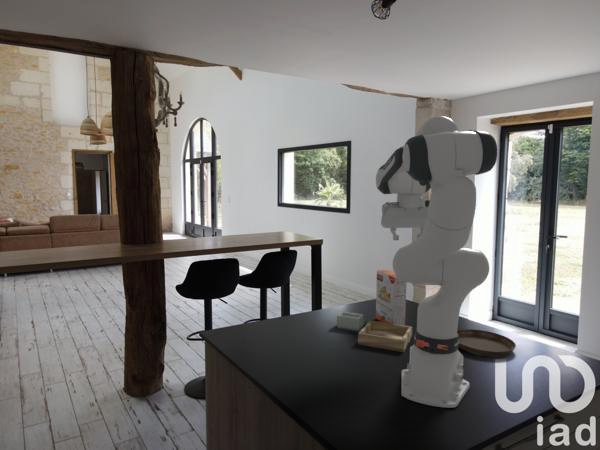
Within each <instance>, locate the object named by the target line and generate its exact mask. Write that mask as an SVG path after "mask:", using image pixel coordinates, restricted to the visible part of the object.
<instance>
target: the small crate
mask: <svg viewBox="0 0 600 450" xmlns="http://www.w3.org/2000/svg"><path fill="white" fill-rule="evenodd" d="M336 328H337V329H342V330H348V331H354V332H360V331H361V330H362V329H363V328H364V314H363V313H355V312H348V311H341V312H339V313H338V314H337V315H336Z"/></svg>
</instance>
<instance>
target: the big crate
mask: <svg viewBox="0 0 600 450" xmlns="http://www.w3.org/2000/svg"><path fill="white" fill-rule="evenodd" d="M412 337H413V326H410V325H405V326H404V325H398V324H391V323H384V322H381V321H378V320H377V321H376V320H369V321H368V322H367V323H366V324H365V326H363V328H362V329H361V330H360V331H358V334H357V345H361V346H364V347H365V346H366V347H372V348H375V349H376V348H377V349H383V350H388V351H395V352H400V353H405V352H406V351H405V350H406V349H407V347H408V345H409V344H410V341H411V340H412ZM408 343H409V344H408Z"/></svg>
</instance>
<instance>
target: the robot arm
mask: <svg viewBox="0 0 600 450" xmlns="http://www.w3.org/2000/svg"><path fill="white" fill-rule="evenodd" d="M497 160H498V143H497V141H496V139H495V137H494V136H493V135H492V134H491V133H489V132H487V131H482V130H476V129H475V130H472V129H469V130H468V131H467V130H465V131H464V130H460V131H459V128H458V126H457V124H456V122H455V121H454V120H453V119H452V118H449V117H447V116H443V115H436V116H435V115H434V116H432V117H431V118H429V119H427V120H426V121H425V122H424V123H423V124H422V125H421V126H420V128H419V129H418V131H417V133H416V134H415V135H414V136H412V137H410V138H408V139H407V141H406V142H405V144H404V145H403V146H400V147H399V148H397V149H395V150H394V152H393V153H391V155H390V156H389V158H388V159H387V160H386V162H385V163H384V164H382V165H381V166H380V167H379V168H378V170H377V171H376V172H377V173H376V175H375V185H376V188H377V190H378V191H379V192H380V193H381V194H383V195H392V194H396V201H392V202H390V201H387V202H385V203H384V204H382V205H381V206H382V207H381V213H382V214H381V219H380V225H381V226H382V228H384V229H390V233H391V234H392V240H393V241H399V240H400V239H399V238H400V235H397V229H402V228H403V229H405V228H406V229H411V228H412V229H413V228H415V229H417V228H419V230H420V232H419V234H417V235H416V239H415V240H414V241H412V242H411V243H409V244H407V245H405V246H401V247H400V248H399V249H398V250H397V251H396V253H395V254H394V257H393V259H392V271H393V272H394V273H395V275H396V276H397V278H398V279H399V280H401V281H404V282H407V283H409V284H413V285H421V286H422V285H423V286H425V285H426V286H440V288H439V289H438V291H437V292H436V293H434V294H432V295H429V296H427V297H425V298H424V299H422V300H421V301H420V302H419V304H418V305H417V315H416V329H415V331H414V337H413V338H414V342H413V345H411V346H410V347H409V363H406V368H405V369H402V370H401V375H400V377H401V378H400V379H401V381H400V384H401V386H400V387H401V389H400V390H401V394H400V395H401V396H402V397H404V398H406V399H407V400H410V401H412V402H416V403H418V404H419V403H420V404H423V405H427V406H432V407H437V408H438V407H439V408H449V409H450V408H456V407H457V406H459V404H460V402H461V400H462V399H463V398H464V396H465V395H466V393H467V392H468V390H469V389H470V387H471V386H470V385H471V384H470V382H469V381H468V380H466V379H464V368H465V367H464V355H463V354H462V353H461V352H460V351H459V346H458V345H459V335H458V334H457V330H459V329H458V328H459V327H458V326H459V318H460V312H461V307H462V305H463V303H464V302H465V299H466V298H467V297H468V295H469V294H470V293H471V292H472V291H473V290H475V289H476V288H477V287H480V286H481V285H482V284H483V283H484V282H485V281H486V279H487V278H488V276H489V272H490V263H489V260H488V258H487V256H486V255H485V253H484V252H482V250H477V249H474V248H469V247H466V244H467V243H468V241H469V238H470V234H471V230H472V226H473V222H474V218H475V215H476V209H477V208H476V207H477V188H476V185H475V183H474V182H473V180H471V178H469V177H467V176H471V175H476V176H478V175H482V174H486V173H488V172H490V171H492V169H493V168H494V166H495V165H496V163H497ZM429 190H431V191H430V198H429V199H428V198H425V197H423V194H425V193H427V192H428V191H429Z"/></svg>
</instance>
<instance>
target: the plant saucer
mask: <svg viewBox="0 0 600 450" xmlns="http://www.w3.org/2000/svg"><path fill="white" fill-rule="evenodd" d="M457 334H458V335H459V345H458V348H460V349H461V350H463V351H464V352H467V353H470V354H471V355H477V356H481V357H490V358H498V357H504V356H507V355H509V354H511V353H512V352H514V350H515V349H516V348H517V347H516V343H515V341H514V340H512V339H511V338H509V337H508V336H505V335H502V334H500V333H496V332H492V331H487V330H482V329H473V328H472V329H470V328H467V329H466V328H465V329H464V328H463V329H458V330H457Z"/></svg>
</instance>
